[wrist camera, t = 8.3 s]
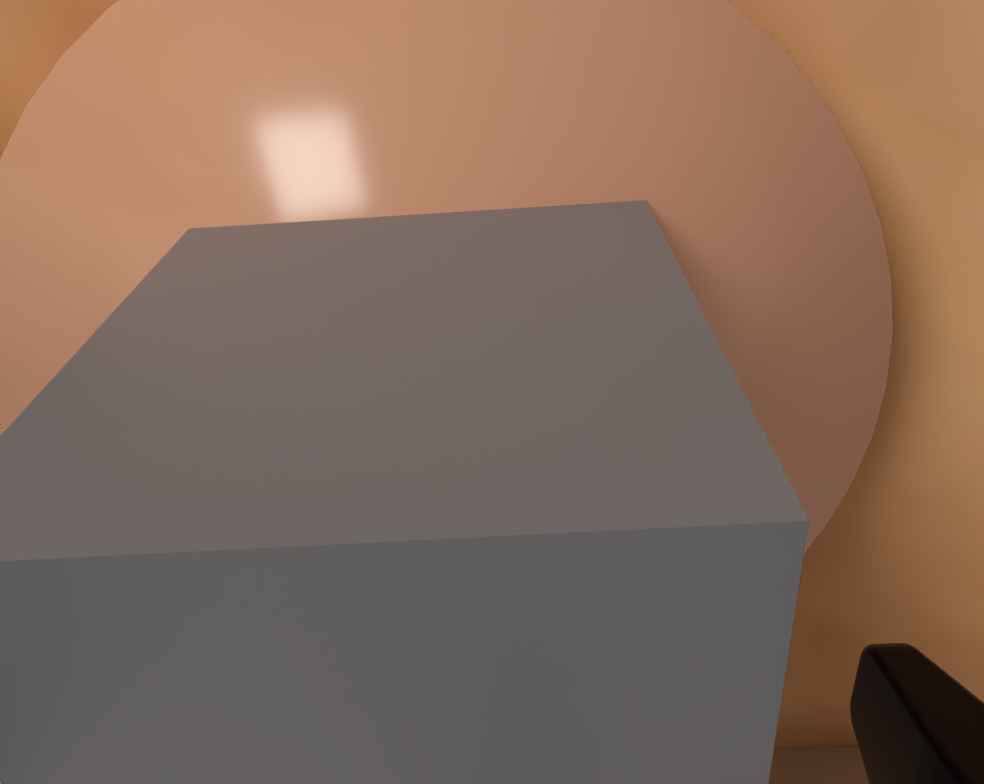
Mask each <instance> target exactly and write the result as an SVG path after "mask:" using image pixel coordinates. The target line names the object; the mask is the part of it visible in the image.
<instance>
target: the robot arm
mask: <svg viewBox="0 0 984 784" xmlns="http://www.w3.org/2000/svg"><path fill="white" fill-rule="evenodd" d="M850 711H851V720H852V725H853V729H854V732H855V736H856V739H857V743H858V746H859V750H860V753H861V757H862V760H863V763H864V767H865V770H866V774H867V777H868V781H869V784H984V703H983V702H982V701H981V700H979V699H978V698H977V697H976V696H975V695H973V694H972V693H971V692H970V691H968V690H967V689H966V688H965V687H963V686H962V685H961V684H960V683H958V682H957V681H956V680H955V679H953V678H952V677H951V676H950V675H949V674H947V673H946V672H945V671H944V670H942V669H941V668H940V667H939V666H937V665H936V664H935V663H934V662H932V661H931V660H930V659H929V658H927V657H926V656H925V655H924V654H923V653H921V652H920V651H919V650H917V649H916V648H915V647H913V646H911V645H909V644H905V643H889V644H871V645H868V646H866V647H865V648H864V649H863V651H862V653H861V656H860V660H859V665H858V669H857V674H856V679H855V683H854V688H853V692H852V697H851V703H850Z"/></svg>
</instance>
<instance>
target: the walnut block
mask: <svg viewBox="0 0 984 784" xmlns="http://www.w3.org/2000/svg"><path fill="white" fill-rule="evenodd" d="M768 784H869V781H868V777H867V774H866V770H865V767H864V763H863V760H862V757H861V753H860V750H859V746H830V747H789V748H774V751H773V757H772V764H771V770H770V776H769V783H768Z"/></svg>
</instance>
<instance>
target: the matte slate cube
mask: <svg viewBox="0 0 984 784" xmlns="http://www.w3.org/2000/svg"><path fill="white" fill-rule="evenodd" d="M808 527H809V519H808V517H807V515H806V513H805V511H804V509H803V507H802V505H801V503H800V501H799V499H798V497H797V495H796V493H795V491H794V489H793V487H792V485H791V484H790V482H789V480H788V478H787V476H786V474H785V472H784V470H783V468H782V466H781V464H780V462H779V460H778V458H777V456H776V454H775V452H774V450H773V448H772V446H771V444H770V442H769V440H768V438H767V436H766V434H765V433H764V431H763V429H762V427H761V425H760V423H759V421H758V419H757V417H756V415H755V413H754V411H753V409H752V407H751V405H750V403H749V401H748V399H747V397H746V395H745V393H744V391H743V389H742V387H741V385H740V383H739V381H738V380H737V378H736V376H735V374H734V372H733V370H732V368H731V366H730V364H729V362H728V360H727V358H726V356H725V354H724V352H723V350H722V348H721V346H720V344H719V342H718V340H717V338H716V336H715V334H714V332H713V330H712V329H711V327H710V325H709V323H708V321H707V319H706V317H705V315H704V313H703V311H702V309H701V307H700V305H699V303H698V301H697V299H696V297H695V295H694V293H693V291H692V289H691V287H690V285H689V283H688V281H687V279H686V278H685V276H684V274H683V272H682V270H681V268H680V266H679V264H678V262H677V260H676V258H675V256H674V254H673V252H672V250H671V248H670V246H669V244H668V242H667V240H666V238H665V236H664V234H663V232H662V230H661V228H660V226H659V225H658V223H657V221H656V219H655V217H654V215H653V213H652V211H651V209H650V207H649V205H648V203H647V201H646V200H641V201H625V202H609V203H593V204H577V205H561V206H544V207H528V208H512V209H496V210H480V211H464V212H448V213H432V214H416V215H399V216H383V217H367V218H351V219H335V220H319V221H303V222H287V223H271V224H254V225H238V226H222V227H206V228H190V229H188V230H187V231H186V232H185V233H184V235H183V236H182V237H181V238H180V239H179V240H178V241H177V242H176V243H175V244H174V246H173V247H172V248H171V249H170V250H169V251H168V252H167V253H166V254H165V255H164V257H163V258H162V259H161V260H160V261H159V262H158V263H157V264H156V265H155V266H154V268H153V269H152V270H151V271H150V272H149V273H148V274H147V275H146V276H145V277H144V279H143V280H142V281H141V282H140V283H139V284H138V285H137V286H136V287H135V288H134V290H133V291H132V292H131V293H130V294H129V295H128V296H127V297H126V298H125V299H124V301H123V302H122V303H121V304H120V305H119V306H118V307H117V308H116V309H115V310H114V312H113V313H112V314H111V315H110V316H109V317H108V318H107V319H106V320H105V321H104V323H103V324H102V325H101V326H100V327H99V328H98V329H97V330H96V331H95V332H94V334H93V335H92V336H91V337H90V338H89V339H88V340H87V341H86V342H85V343H84V345H83V346H82V347H81V348H80V349H79V350H78V351H77V352H76V353H75V354H74V356H73V357H72V358H71V359H70V360H69V361H68V362H67V363H66V364H65V365H64V366H63V368H62V369H61V370H60V371H59V372H58V373H57V374H56V375H55V376H54V377H53V379H52V380H51V381H50V382H49V383H48V384H47V385H46V386H45V387H44V388H43V390H42V391H41V392H40V393H39V394H38V395H37V396H36V397H35V398H34V399H33V401H32V402H31V403H30V404H29V405H28V406H27V407H26V408H25V409H24V410H23V412H22V413H21V414H20V415H19V416H18V417H17V418H16V419H15V420H14V421H13V423H12V424H11V425H10V426H9V427H8V428H7V429H6V430H5V431H4V432H3V434H2V435H1V436H0V782H1V784H768V783H769V776H770V770H771V764H772V757H773V751H774V744H775V738H776V732H777V725H778V719H779V712H780V706H781V700H782V693H783V687H784V680H785V674H786V668H787V661H788V655H789V648H790V642H791V636H792V629H793V623H794V616H795V610H796V604H797V597H798V591H799V584H800V578H801V572H802V565H803V559H804V552H805V546H806V540H807V533H808Z"/></svg>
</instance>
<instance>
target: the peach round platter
mask: <svg viewBox="0 0 984 784" xmlns="http://www.w3.org/2000/svg"><path fill="white" fill-rule="evenodd" d="M641 200H646V201H647V203H648V205H649V207H650V209H651V211H652V213H653V215H654V217H655V219H656V221H657V223H658V225H659V226H660V228H661V230H662V232H663V234H664V236H665V238H666V240H667V242H668V244H669V246H670V248H671V250H672V252H673V254H674V256H675V258H676V260H677V262H678V264H679V266H680V268H681V270H682V272H683V274H684V276H685V278H686V279H687V281H688V283H689V285H690V287H691V289H692V291H693V293H694V295H695V297H696V299H697V301H698V303H699V305H700V307H701V309H702V311H703V313H704V315H705V317H706V319H707V321H708V323H709V325H710V327H711V329H712V330H713V332H714V334H715V336H716V338H717V340H718V342H719V344H720V346H721V348H722V350H723V352H724V354H725V356H726V358H727V360H728V362H729V364H730V366H731V368H732V370H733V372H734V374H735V376H736V378H737V380H738V381H739V383H740V385H741V387H742V389H743V391H744V393H745V395H746V397H747V399H748V401H749V403H750V405H751V407H752V409H753V411H754V413H755V415H756V417H757V419H758V421H759V423H760V425H761V427H762V429H763V431H764V433H765V434H766V436H767V438H768V440H769V442H770V444H771V446H772V448H773V450H774V452H775V454H776V456H777V458H778V460H779V462H780V464H781V466H782V468H783V470H784V472H785V474H786V476H787V478H788V480H789V482H790V484H791V485H792V487H793V489H794V491H795V493H796V495H797V497H798V499H799V501H800V503H801V505H802V507H803V509H804V511H805V513H806V515H807V517H808V519H809V527H808V533H807V540H806V546H805V552H806V551H807V549H808V548H809V547H810V546H811V544H812V543H813V542H814V541H815V539H816V538H817V537H818V535H819V534H820V533H821V532H822V530H823V529H824V528H825V527H826V525H827V524H828V523H829V521H830V519H831V518H832V516H833V514H834V513H835V511H836V509H837V508H838V506H839V504H840V503H841V501H842V499H843V498H844V496H845V494H846V493H847V491H848V489H849V488H850V486H851V484H852V483H853V481H854V478H855V476H856V474H857V471H858V469H859V467H860V464H861V462H862V460H863V458H864V455H865V453H866V451H867V448H868V446H869V444H870V441H871V439H872V437H873V434H874V430H875V426H876V423H877V419H878V415H879V412H880V408H881V404H882V401H883V397H884V393H885V390H886V386H887V378H888V370H889V362H890V354H891V345H892V337H893V317H892V283H891V274H890V269H889V263H888V258H887V252H886V247H885V242H884V236H883V231H882V225H881V221H880V218H879V215H878V213H877V210H876V207H875V204H874V201H873V198H872V196H871V193H870V190H869V187H868V184H867V181H866V179H865V176H864V173H863V170H862V167H861V165H860V163H859V161H858V159H857V158H856V156H855V154H854V152H853V150H852V148H851V146H850V145H849V143H848V141H847V139H846V137H845V135H844V134H843V132H842V130H841V128H840V126H839V124H838V123H837V121H836V119H835V117H834V115H833V113H832V111H831V110H830V108H829V107H828V106H827V105H826V103H825V102H824V101H823V99H822V98H821V97H820V95H819V94H818V93H817V91H816V90H815V89H814V88H813V86H812V85H811V84H810V82H809V81H808V80H807V78H806V77H805V76H804V75H803V73H802V72H801V71H800V69H799V68H798V67H797V65H796V64H795V63H794V61H793V60H792V59H791V58H790V57H789V56H788V55H787V54H786V53H785V52H784V51H783V50H782V49H781V48H780V47H779V46H778V45H777V44H776V43H775V42H774V41H773V40H772V39H771V38H770V37H769V36H767V35H766V34H765V33H764V32H763V31H762V30H761V29H760V28H759V27H758V26H757V25H756V24H755V23H754V22H753V21H752V20H751V19H750V18H749V17H748V16H746V15H745V14H744V13H743V12H742V11H741V10H740V9H739V8H737V7H736V6H735V5H733V4H732V3H730V2H729V1H727V0H119V1H117V2H116V3H114V4H113V5H112V6H111V7H110V8H109V9H108V10H107V11H106V12H105V13H104V14H103V15H102V16H101V17H100V18H99V19H98V20H97V21H96V22H95V23H94V24H93V25H92V26H91V27H90V28H89V29H88V30H87V31H86V32H85V33H84V34H83V35H82V36H81V37H80V38H79V39H78V40H77V41H76V42H75V43H74V44H73V45H72V46H71V47H70V48H68V49H67V50H66V51H65V52H64V54H63V55H62V56H61V58H60V59H59V61H58V62H57V63H56V65H55V66H54V68H53V69H52V70H51V72H50V73H49V75H48V76H47V77H46V79H45V80H44V82H43V83H42V84H41V86H40V87H39V89H38V90H37V91H36V93H35V94H34V96H33V97H32V98H31V100H30V101H29V103H28V104H27V105H26V107H25V109H24V111H23V114H22V116H21V118H20V120H19V122H18V124H17V126H16V128H15V130H14V132H13V134H12V136H11V138H10V140H9V142H8V144H7V146H6V149H5V151H4V153H3V155H2V157H1V159H0V422H1V425H2V428H3V431H5V430H6V429H7V428H8V427H9V426H10V425H11V424H12V423H13V421H14V420H15V419H16V418H17V417H18V416H19V415H20V414H21V413H22V412H23V410H24V409H25V408H26V407H27V406H28V405H29V404H30V403H31V402H32V401H33V399H34V398H35V397H36V396H37V395H38V394H39V393H40V392H41V391H42V390H43V388H44V387H45V386H46V385H47V384H48V383H49V382H50V381H51V380H52V379H53V377H54V376H55V375H56V374H57V373H58V372H59V371H60V370H61V369H62V368H63V366H64V365H65V364H66V363H67V362H68V361H69V360H70V359H71V358H72V357H73V356H74V354H75V353H76V352H77V351H78V350H79V349H80V348H81V347H82V346H83V345H84V343H85V342H86V341H87V340H88V339H89V338H90V337H91V336H92V335H93V334H94V332H95V331H96V330H97V329H98V328H99V327H100V326H101V325H102V324H103V323H104V321H105V320H106V319H107V318H108V317H109V316H110V315H111V314H112V313H113V312H114V310H115V309H116V308H117V307H118V306H119V305H120V304H121V303H122V302H123V301H124V299H125V298H126V297H127V296H128V295H129V294H130V293H131V292H132V291H133V290H134V288H135V287H136V286H137V285H138V284H139V283H140V282H141V281H142V280H143V279H144V277H145V276H146V275H147V274H148V273H149V272H150V271H151V270H152V269H153V268H154V266H155V265H156V264H157V263H158V262H159V261H160V260H161V259H162V258H163V257H164V255H165V254H166V253H167V252H168V251H169V250H170V249H171V248H172V247H173V246H174V244H175V243H176V242H177V241H178V240H179V239H180V238H181V237H182V236H183V235H184V233H185V232H186V231H187V230H188V229H190V228H206V227H222V226H238V225H254V224H271V223H287V222H303V221H319V220H335V219H351V218H367V217H383V216H399V215H416V214H432V213H448V212H464V211H480V210H496V209H512V208H528V207H544V206H561V205H577V204H593V203H609V202H625V201H641ZM805 552H804V553H805Z"/></svg>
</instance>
